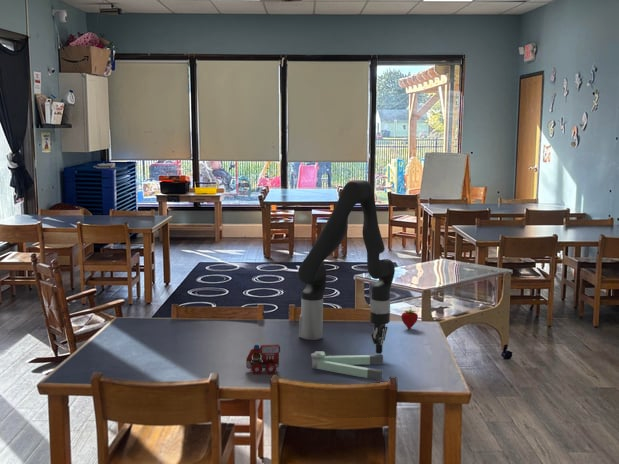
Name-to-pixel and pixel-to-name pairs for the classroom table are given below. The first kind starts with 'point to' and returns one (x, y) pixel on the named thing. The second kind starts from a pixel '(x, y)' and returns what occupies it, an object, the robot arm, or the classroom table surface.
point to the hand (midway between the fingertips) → (379, 353)
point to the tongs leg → (347, 369)
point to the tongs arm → (350, 358)
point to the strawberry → (409, 318)
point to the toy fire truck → (263, 359)
